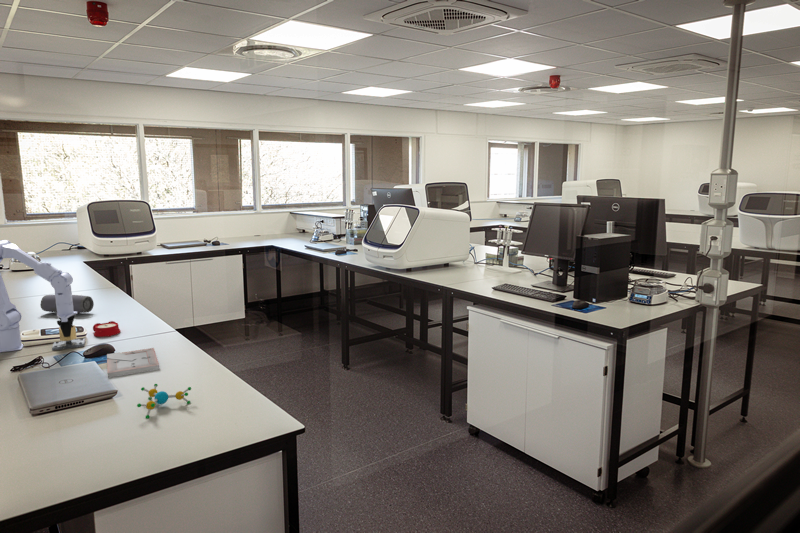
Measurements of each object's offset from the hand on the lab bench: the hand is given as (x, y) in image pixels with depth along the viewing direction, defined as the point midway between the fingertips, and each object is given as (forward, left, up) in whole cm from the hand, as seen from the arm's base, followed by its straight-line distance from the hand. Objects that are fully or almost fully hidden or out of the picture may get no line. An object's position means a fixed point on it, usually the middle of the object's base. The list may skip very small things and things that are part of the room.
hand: (68, 334), depth 211 cm
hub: (0, 0, -2) cm, 2 cm away
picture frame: (+23, -35, -6) cm, 42 cm away
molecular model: (+29, -79, -5) cm, 84 cm away
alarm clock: (+13, +14, -5) cm, 20 cm away
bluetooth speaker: (-5, +60, -5) cm, 60 cm away
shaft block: (0, 0, -5) cm, 5 cm away
